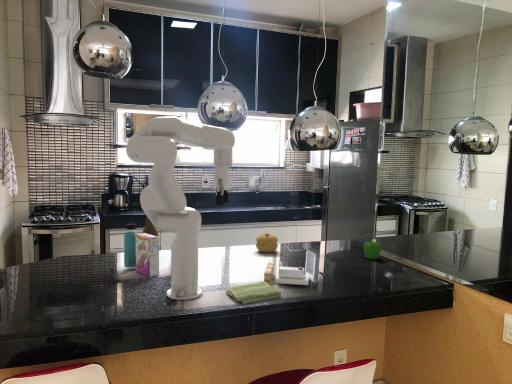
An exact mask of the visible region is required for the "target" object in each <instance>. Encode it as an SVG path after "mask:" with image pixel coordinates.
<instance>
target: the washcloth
mask: <svg viewBox="0 0 512 384" xmlns="http://www.w3.org/2000/svg"><path fill="white" fill-rule="evenodd" d="M225 292H226V293H227V295H230V296H231V298H233V299H234V300H236V301H237V302H240V303H241V304H242V305H243V304H244V305H245V304H250V303H254V302H260V301H265V300H270V299H275V298H276V299H277V298H279V297H281V296H282V291H280V290H279V289H278V288H276V287H274V286H272V285H270V284H269V283H267V282H265V281H264V280H262V281H260V282H255V283H254V282H253V283H248V284H244V285H243V284H242V285H238V286H235V285H234V286H232V287H229V288H227V289H226V290H225Z"/></svg>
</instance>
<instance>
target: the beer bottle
mask: <svg viewBox="0 0 512 384" xmlns="http://www.w3.org/2000/svg"><path fill="white" fill-rule="evenodd" d="M141 233H147V234H150V235H153V236H157V237H159V232H158V229H156V228H155V226H154V225H153V224H152V222H151V221H150V219H149V218H148V217H147V215H146V214H145V226H144V228H143V229H142V232H141Z"/></svg>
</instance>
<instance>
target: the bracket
mask: <svg viewBox="0 0 512 384" xmlns="http://www.w3.org/2000/svg"><path fill="white" fill-rule="evenodd" d="M275 276H276V277H275V284H282V285H283V284H285V285H286V284H287V285H298V286H299V285H302V286H303V285H304V286H309V274H304V280H302V279H285V278H279V272H278V273H276V275H275Z"/></svg>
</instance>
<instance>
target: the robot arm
mask: <svg viewBox="0 0 512 384" xmlns="http://www.w3.org/2000/svg"><path fill="white" fill-rule="evenodd" d="M235 137H236V136H235V134H234V133H233V132H232V130H230V129H227V128H224V127H220V126H214V125H209V124H204V123H199V122H194V121H191V120H188V119H186V118H182V117H178V116H154V117H152V118H150V119H148V120H147V121H146V122H144V124H143V125H141V127H140V128H139V129H138V130H137V131H135V133H134V134H132V136H131V137H130V138H129V139H128V141H127V144H126V149H125V150H126V155H127V157H128V158H129V160H131V161H132V162H135V163H138V164H141V163H143V164H145V163H146V164H153V165H152V168H151V171H150V173H149V175H148V179H147V182H148V185H146V186H145V187H144V188H143V189H142V190H141V192H140V195H139V201H140V206H141V209H142V210H143V212H144V213H145V216H146V215H147V217H148V218H149V219H150V221H151V222H152V224H153V225H154V226H155V228H156V230H157V231H160V232H163V233H172V234H176V236H175V238H174V240H173V241H172V243H171V247H170V253H171V254H170V255H171V256H170V257H171V258H170V262H171V263H170V265H171V266H170V268H171V269H170V273H171V274H170V278H171V279H170V288H169V289H168V290H166V297H167V298H168V299H169V298H170V299H172V300H176V301H186V300H187V301H189V300H194V299H197V298H200V297H201V296H202V295H203V289H202V288H200V287H199V238H200V231H201V226H202V215H201V213H200V212H199V211H198V210H197V209H195V208H193V207H188V205H187V196H186V195H185V193H184V192H183V189H182V188H181V185H179V184H180V183H179V182H178V181H177V178H176V177H175V173H174V170H175V165H176V160H177V156H178V146H177V144H182V145H185V146H190V147H197V148H202V149H203V150H211V151H213V166H214V173H213V174H214V175H213V190H214V191H216V192H215V205H216V206H224V205H225V204H226V203H229V189H230V177H231V176H230V172H231V171H230V167H232V166H233V147H235V143H236V138H235ZM176 143H177V144H176Z"/></svg>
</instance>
